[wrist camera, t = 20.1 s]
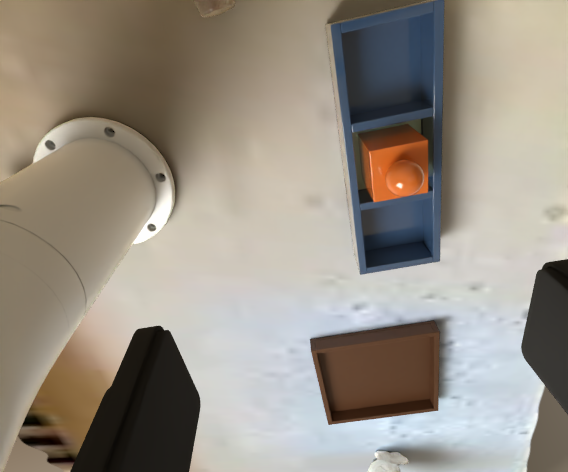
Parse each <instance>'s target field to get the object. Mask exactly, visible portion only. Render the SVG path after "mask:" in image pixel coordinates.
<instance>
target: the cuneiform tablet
mask: <svg viewBox="0 0 568 472" xmlns="http://www.w3.org/2000/svg"><path fill="white" fill-rule="evenodd" d="M193 2H194V3H195V5H196V7H197V9H198V11H199V13H200V14H201V15H202V16H203V17H212V16H215V15H220V14H222V13H224V12H226V11H227V10H230V9H232V8H233V7H234V6H235V0H193Z"/></svg>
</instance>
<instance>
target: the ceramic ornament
mask: <svg viewBox="0 0 568 472" xmlns="http://www.w3.org/2000/svg"><path fill="white" fill-rule="evenodd" d="M358 143H359V153H360V163H361V173H362V180H363V182H364V184H365V186H366V188H367V190H368V192H369V194H370V196H371V198H372V200H373V202H379V201H385V200H390V199H395V198H401V197H408V196H412V195H417V194H423V193H428V139H426V138H425V137H424V136H423V135H421V134H420V133H419V132H418V131H416V130H415V129H414V128H413V127H411V126H410V125H409V124H404V125H399V126H394V127H389V128H384V129H379V130H374V131H369V132H365V133H360V134H358Z"/></svg>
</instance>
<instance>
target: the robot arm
mask: <svg viewBox="0 0 568 472" xmlns="http://www.w3.org/2000/svg"><path fill="white" fill-rule="evenodd" d="M111 128H112V129H113V130H114V132H112V130H111ZM54 143H55V144H54ZM161 173H162V174H164V176H162V175H161ZM174 203H175V185H174V180H173V177H172V174H171V171H170V168H169V166H168V165H167V163H166V161H165V159H164V157H163V156H162V155H161V154H160V152H159V151H158V150H157V148H156V147H155V146H154V145H153V144H152V143H151V142H150V141H148V140H147V139H146V138H145V137H144V136H143V135H141V134H140V133H138V132H137V131H135V130H134V129H132V128H130V127H128V126H126V125H124V124H121V123H119V122H116V121H112V120H109V119H105V118H96V117H85V118H76V119H73V120H70V121H67V122H64V123H62V124H61V125H59V126H57V127H55V128H53V129H52V130H51V131H49V132H48V133H47V134H46V135H45V136H44V137H43V139H42V140H41V141H40V143H39V144H38V146H37V149H36V151H35V154H34V159H33V164H32V165H30V166H28V167H26V168H25V169H23V170H21V171H20V172H18V173H16V174H14V175H13V176H11V177H9V178H7V179H6V180H4V181H2V182H1V183H0V472H4V469H5V467H6V464H7V462H8V459H9V456H10V454H11V451H12V449H13V446H14V444H15V441H16V438H17V436H18V433H19V431H20V429H21V426H22V424H23V422H24V419H25V417H26V415H27V413H28V411H29V409H30V407H31V405H32V403H33V401H34V399H35V397H36V395H37V393H38V391H39V389H40V387H41V385H42V383H43V382H44V380H45V378H46V376H47V375H48V373H49V371H50V369H51V368H52V366H53V365H54V363H55V361H56V360H57V358H58V356H59V355H60V353H61V352H62V350H63V349H64V347H65V345H66V344H67V342H68V341H69V339H70V338H71V336H72V335H73V333H74V332H75V330H76V329H77V327H78V326H79V324H80V323H81V321H82V320H83V318H84V317H85V315H86V314H87V312H88V311H89V309H90V308H91V306H92V305H93V303H94V302H95V300H96V299H97V297H98V296H99V294H100V293H101V291H102V290H103V288H104V287H105V285H106V283H107V282H108V280H109V279H110V277H111V276H112V274H113V273H114V271H115V270H116V268H117V267H118V265H119V264H120V262H121V261H122V259H123V258H124V256H125V255H126V253H127V252H128V250H129V249H130V247H131V246H132V245H133V244H137V243H140V242H143V241H145V240H147V239H149V238H151V237H153V236H154V235H155V234H157V233H158V232H159V231H160V230H161V229H162V228H163V226H164V225H165V224H166V223H167V221H168V219H169V217H170V215H171V213H172V210H173V207H174ZM153 224H154V225H153ZM521 348H522V353H523V356H524V358H525V360H526V361H527V362H528V364H529V365H530V366H531V368H532V369H533V370H534V372H535V373H536V374H537V375H538V377H539V378H540V379H541V381H542V382H543V383H544V384H545V386H546V387H547V388H548V390H549V391H550V392H551V394H552V395H553V396H554V397H555V399H556V400H557V401H558V403H559V404H560V405H561V406H562V408H563V409H564V410H565V412H566V413H567V414H568V259H566V260H560V261H554V262H548V263H545V264H544V265H543V268H542V270H539V271H538V272H537V274H536V279H535V284H534V288H533V293H532V298H531V303H530V307H529V312H528V317H527V322H526V326H525V331H524V336H523V340H522V346H521ZM199 412H200V397H199V394H198V391H197V389H196V387H195V385H194V383H193V381H192V378H191V376H190V374H189V372H188V370H187V367H186V365H185V363H184V361H183V359H182V356H181V354H180V352H179V350H178V348H177V345H176V343H175V341H174V339H173V337H172V335H171V333H170V331H169V330H165V331H164V329H163V328H162V327H161V326H154V327H148V328H142V329H138V330H136V331H135V333H134V335H133V337H132V340H131V342H130V344H129V347H128V349H127V351H126V354H125V356H124V358H123V360H122V363H121V365H120V367H119V370H118V372H117V374H116V377H115V379H114V381H113V384H112V386H111V387H110V388H109V389H108V390H107V391H106V393H105V395H104V397H103V399H102V401H101V403H100V406H99V408H98V410H97V412H96V415H95V417H94V419H93V422H92V424H91V426H90V428H89V431H88V433H87V435H86V437H85V440H84V442H83V444H82V446H81V449H80V451H79V453H78V455H77V458H76V460H75V462H74V464H73V467H72V469H71V471H70V472H189V469H190V463H191V458H192V452H193V446H194V441H195V435H196V429H197V424H198V418H199Z"/></svg>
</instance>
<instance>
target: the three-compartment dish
mask: <svg viewBox="0 0 568 472" xmlns="http://www.w3.org/2000/svg"><path fill="white" fill-rule="evenodd" d="M325 28H326V36H327V44H328V52H329V60H330V68H331V76H332V84H333V91H334V99H335V107H336V115H337V123H338V131H339V139H340V147H341V155H342V163H343V171H344V179H345V186H346V194H347V202H348V210H349V218H350V226H351V234H352V242H353V250H354V256H355V259H356V263H357V266H358V269H359V272H360V274H367V273H373V272H379V271H385V270H391V269H397V268H403V267H409V266H415V265H421V264H427V263H432V262H439V261H440V230H441V171H442V113H443V54H444V0H427V1H423V2H418V3H414V4H410V5H405V6H401V7H397V8H392V9H388V10H384V11H379V12H375V13H371V14H367V15H362V16H358V17H354V18H349V19H345V20H341V21H336V22H332V23H328V24H325ZM404 124H409V125H410V126H411V127H413V128H414V129H415V130H416V131H418V132H419V133H420V134H421V135H423V136H424V137H425V138H426V139H428V193H423V194H417V195H412V196H408V197H401V198H395V199H390V200H385V201H379V202H373V200H372V198H371V196H370V194H369V192H368V190H367V188H366V186H365V184H364V182H363V180H362V173H361V163H360V153H359V143H358V134H360V133H365V132H369V131H374V130H379V129H384V128H389V127H394V126H399V125H404Z"/></svg>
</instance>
